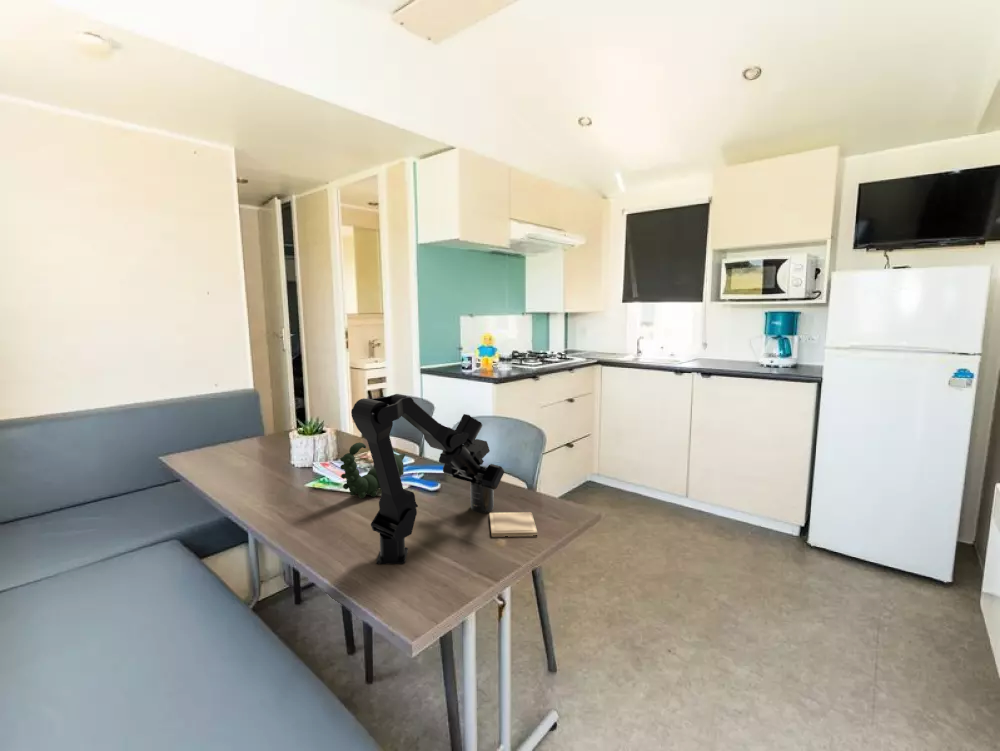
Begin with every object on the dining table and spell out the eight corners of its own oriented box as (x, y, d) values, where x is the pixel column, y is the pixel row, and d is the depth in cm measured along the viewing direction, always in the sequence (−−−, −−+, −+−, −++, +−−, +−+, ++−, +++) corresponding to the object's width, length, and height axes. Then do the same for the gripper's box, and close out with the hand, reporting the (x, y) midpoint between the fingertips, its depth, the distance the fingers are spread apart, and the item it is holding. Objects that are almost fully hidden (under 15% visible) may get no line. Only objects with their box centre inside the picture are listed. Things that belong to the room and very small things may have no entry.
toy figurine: (359, 512, 139) (417, 479, 159) (353, 452, 135) (413, 426, 155) (338, 504, 144) (397, 473, 164) (331, 446, 140) (392, 422, 160)
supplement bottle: (481, 501, 144) (481, 464, 142) (498, 508, 140) (499, 469, 138) (465, 509, 139) (465, 470, 137) (482, 516, 134) (483, 475, 133)
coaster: (537, 536, 123) (537, 532, 123) (491, 536, 123) (491, 532, 122) (531, 515, 135) (531, 511, 135) (489, 516, 134) (489, 512, 134)
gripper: (501, 439, 127) (522, 467, 138) (449, 427, 138) (473, 454, 148) (482, 475, 122) (506, 501, 132) (430, 460, 133) (456, 485, 143)
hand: (485, 484), depth 139 cm, fingers open, 7 cm apart
